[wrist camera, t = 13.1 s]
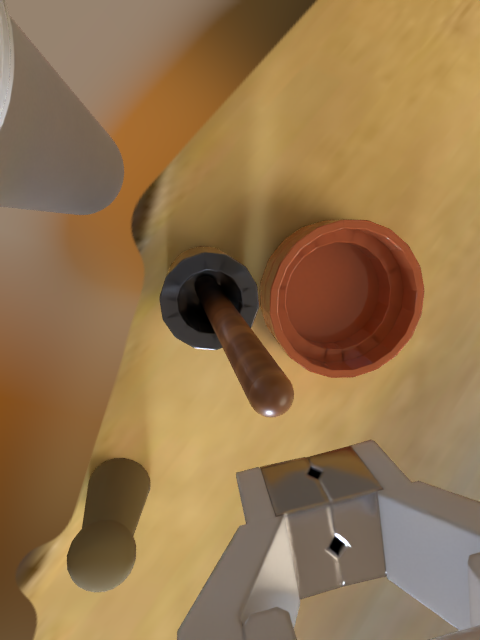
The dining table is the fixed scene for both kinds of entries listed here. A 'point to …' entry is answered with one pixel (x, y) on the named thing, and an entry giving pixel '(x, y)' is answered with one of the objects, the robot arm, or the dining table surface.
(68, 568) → the pepper mill
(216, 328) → the stirring stick
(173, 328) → the utensil pot
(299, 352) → the bowl
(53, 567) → the dining table surface
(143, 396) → the dining table surface
